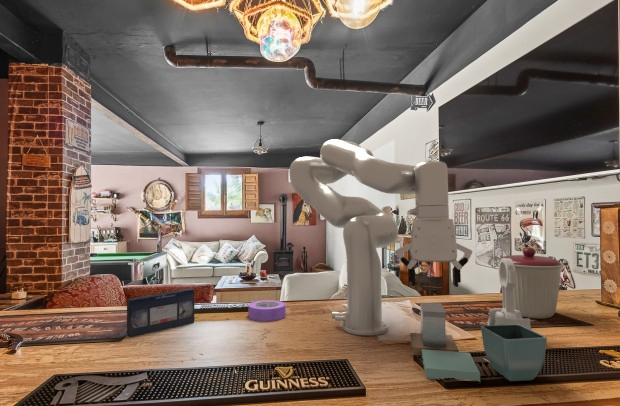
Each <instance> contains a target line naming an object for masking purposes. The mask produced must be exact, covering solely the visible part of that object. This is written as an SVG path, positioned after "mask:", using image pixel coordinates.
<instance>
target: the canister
mask: <svg viewBox="0 0 620 406" xmlns="http://www.w3.org/2000/svg"><path fill="white" fill-rule="evenodd" d="M502 258H510V259H512V261H513V263H514V266H515V271H516V284H515V287H514V288H513V295H514V310H519V311H520V312H521V313H522V318H525V319H526V318H529V319H535V320H536V319H540V320H541V319H548V318H552V317H553V316H554V314H555V313H556V310H557V305H558V300H559V299H558V298H559V292H560V284H561V283H560V281H561V273H562V268H564V267H565V264H564V263H562V262H560V261H559V260H557V259H556V258H553V257H548V256H542V255H536V250H535V248H533V247H530V246H529V247H526V246H525V247H524V248H523V249H522V254H513V255H510V254H509V255H504V256H502V257H501V258H498V259H497V260H496V262H497V263H498V264H499V263H500V260H501V259H502Z"/></svg>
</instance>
